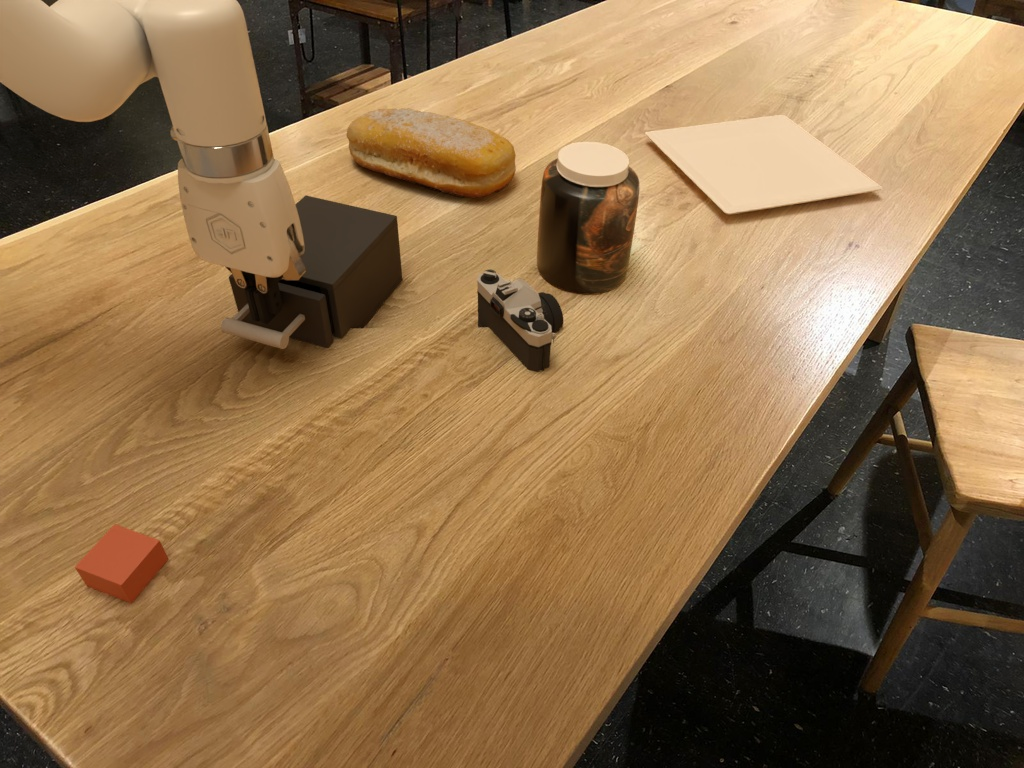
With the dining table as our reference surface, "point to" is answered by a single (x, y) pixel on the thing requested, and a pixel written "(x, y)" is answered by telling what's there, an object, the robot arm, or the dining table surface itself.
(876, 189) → the plate
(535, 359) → the camera
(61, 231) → the dining table surface
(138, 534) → the block
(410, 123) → the bread
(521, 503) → the dining table surface
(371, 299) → the cabinet
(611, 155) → the jar
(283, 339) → the drawer
